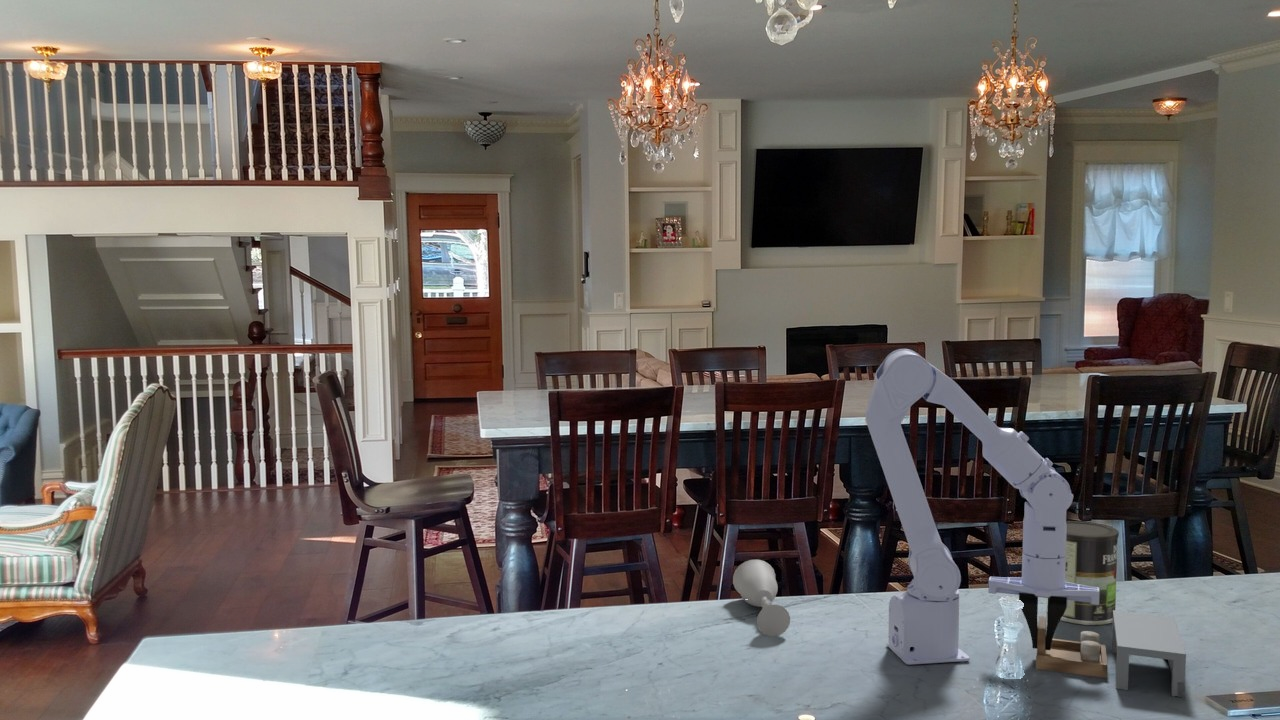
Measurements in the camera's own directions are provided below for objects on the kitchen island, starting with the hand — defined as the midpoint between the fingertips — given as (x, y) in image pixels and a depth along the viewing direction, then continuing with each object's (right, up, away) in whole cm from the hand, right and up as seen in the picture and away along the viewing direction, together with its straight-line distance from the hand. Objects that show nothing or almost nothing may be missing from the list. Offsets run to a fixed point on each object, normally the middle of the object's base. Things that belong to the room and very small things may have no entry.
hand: (1041, 646), depth 146 cm
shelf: (+12, -2, -5) cm, 14 cm away
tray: (+4, -2, -1) cm, 4 cm away
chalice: (-37, +1, +9) cm, 38 cm away
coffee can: (+13, 0, +18) cm, 23 cm away
